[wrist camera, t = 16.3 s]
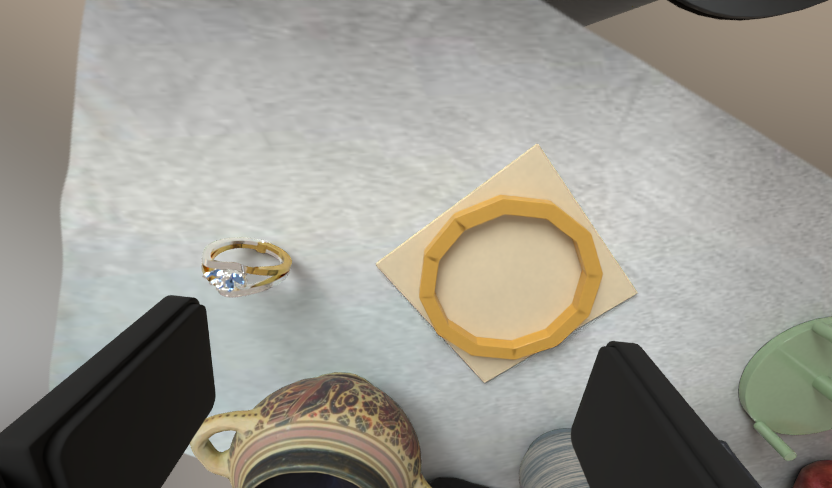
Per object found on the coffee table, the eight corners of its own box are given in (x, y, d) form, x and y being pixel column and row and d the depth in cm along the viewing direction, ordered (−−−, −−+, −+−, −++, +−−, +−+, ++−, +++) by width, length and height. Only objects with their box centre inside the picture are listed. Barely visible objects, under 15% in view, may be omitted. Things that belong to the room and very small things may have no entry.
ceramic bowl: (230, 379, 46) (140, 523, 34) (274, 291, 37) (170, 449, 24) (406, 457, 51) (381, 609, 39) (487, 397, 41) (488, 575, 29)
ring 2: (534, 153, 33) (539, 156, 31) (629, 292, 37) (636, 299, 36) (382, 266, 37) (380, 272, 36) (484, 377, 42) (486, 387, 40)
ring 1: (225, 246, 37) (176, 287, 30) (231, 216, 36) (181, 250, 28) (296, 270, 38) (266, 315, 30) (304, 241, 37) (274, 281, 29)
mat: (536, 143, 33) (538, 144, 32) (635, 290, 38) (638, 293, 38) (376, 262, 37) (375, 265, 37) (483, 380, 42) (484, 383, 42)
